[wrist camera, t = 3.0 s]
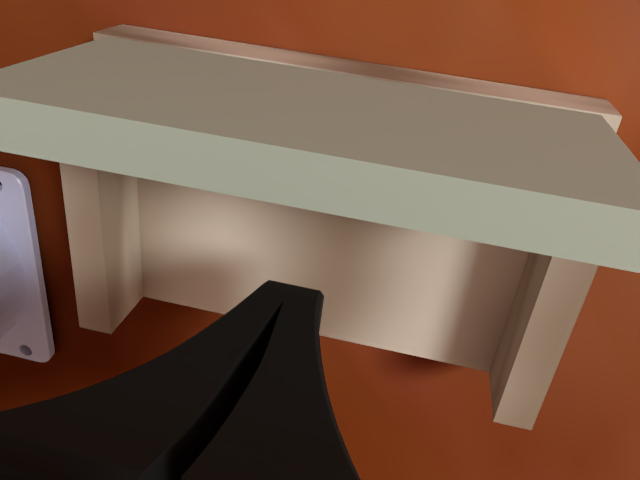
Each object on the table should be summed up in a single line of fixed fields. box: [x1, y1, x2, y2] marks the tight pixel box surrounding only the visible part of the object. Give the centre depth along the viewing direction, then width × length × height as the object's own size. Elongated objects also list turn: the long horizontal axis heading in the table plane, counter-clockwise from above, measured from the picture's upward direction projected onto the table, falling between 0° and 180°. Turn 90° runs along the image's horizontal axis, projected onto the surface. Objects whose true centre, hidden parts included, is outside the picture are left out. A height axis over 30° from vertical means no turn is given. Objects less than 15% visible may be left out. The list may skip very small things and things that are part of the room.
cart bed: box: [59, 24, 622, 430], centre depth 16 cm, size 13×8×4 cm, turn 84°
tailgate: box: [0, 37, 640, 273], centre depth 12 cm, size 12×1×5 cm, turn 84°
